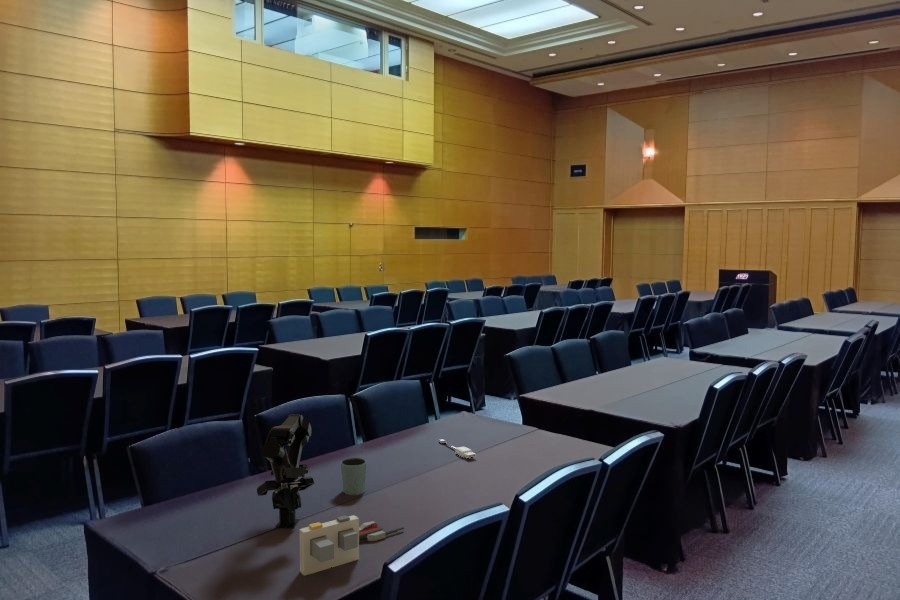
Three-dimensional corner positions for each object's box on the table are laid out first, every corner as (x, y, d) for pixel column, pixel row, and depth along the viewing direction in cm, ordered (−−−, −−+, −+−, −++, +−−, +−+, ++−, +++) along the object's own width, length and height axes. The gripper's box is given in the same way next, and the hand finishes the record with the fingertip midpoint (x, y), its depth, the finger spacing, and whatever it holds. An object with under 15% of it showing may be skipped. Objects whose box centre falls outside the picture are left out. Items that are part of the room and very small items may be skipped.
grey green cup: (361, 497, 257) (361, 466, 256) (336, 494, 259) (336, 464, 258) (370, 487, 267) (369, 458, 266) (345, 485, 269) (345, 456, 268)
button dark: (331, 540, 206) (330, 526, 206) (343, 536, 209) (343, 522, 209) (344, 551, 199) (344, 536, 199) (357, 547, 202) (357, 533, 201)
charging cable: (443, 443, 332) (443, 436, 332) (476, 459, 304) (476, 451, 303) (434, 444, 330) (434, 437, 330) (467, 460, 301) (467, 453, 301)
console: (299, 571, 198) (299, 526, 197) (354, 555, 209) (354, 512, 208) (304, 575, 196) (303, 530, 195) (358, 559, 206) (358, 515, 205)
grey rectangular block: (307, 550, 199) (307, 536, 199) (320, 547, 202) (320, 532, 201) (320, 562, 192) (320, 547, 191) (334, 558, 194) (334, 543, 194)
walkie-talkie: (353, 549, 214) (405, 533, 226) (353, 535, 214) (405, 520, 226) (340, 539, 221) (391, 524, 233) (340, 526, 221) (391, 512, 233)
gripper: (270, 456, 207) (283, 505, 201) (318, 453, 221) (330, 498, 215) (250, 471, 213) (262, 519, 206) (298, 466, 227) (310, 511, 220)
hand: (292, 511), depth 212 cm, fingers closed
